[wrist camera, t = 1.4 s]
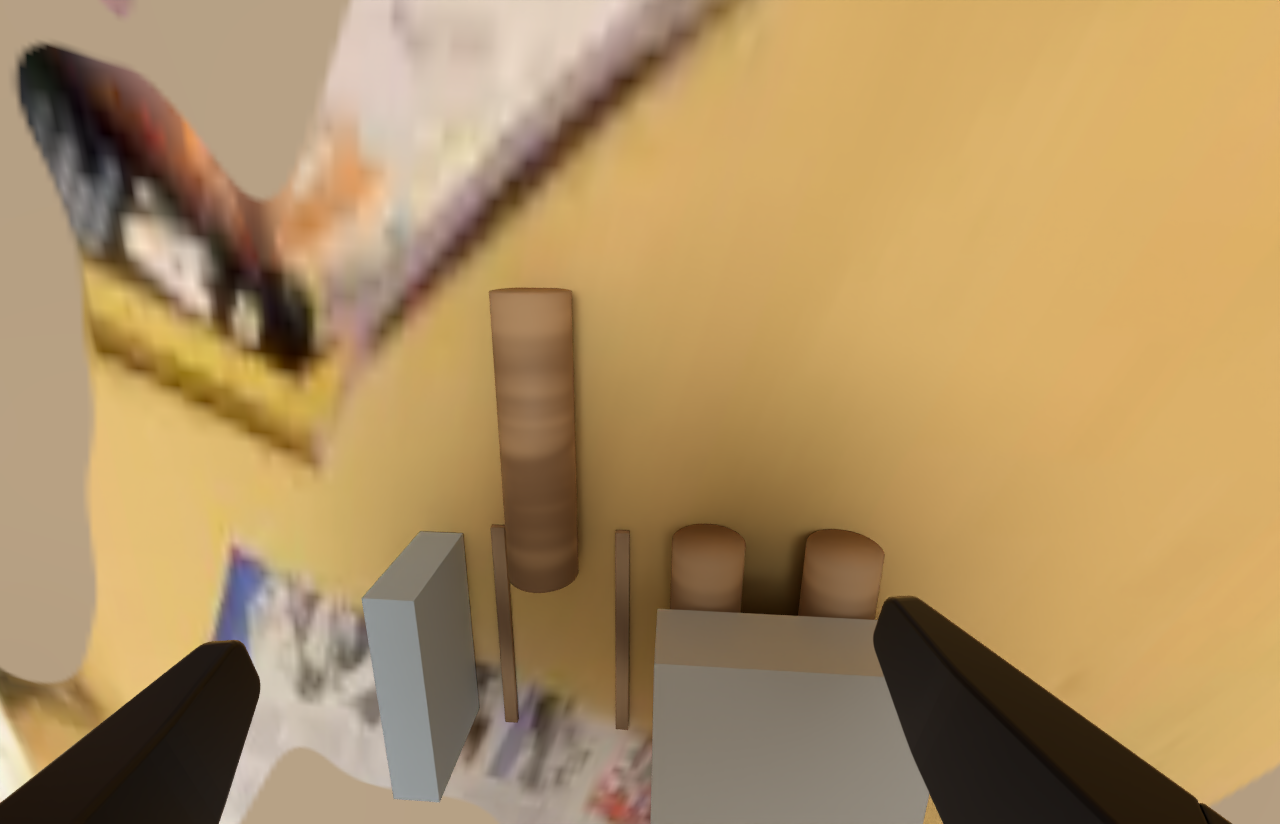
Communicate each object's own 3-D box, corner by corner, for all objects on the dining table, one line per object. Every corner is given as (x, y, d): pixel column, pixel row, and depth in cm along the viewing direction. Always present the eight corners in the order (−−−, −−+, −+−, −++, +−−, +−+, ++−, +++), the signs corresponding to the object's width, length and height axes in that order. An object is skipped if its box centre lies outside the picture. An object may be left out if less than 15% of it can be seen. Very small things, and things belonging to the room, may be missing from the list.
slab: (888, 780, 24) (916, 853, 21) (653, 763, 25) (650, 833, 22) (918, 622, 22) (954, 681, 19) (657, 608, 22) (654, 663, 20)
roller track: (838, 747, 28) (856, 805, 25) (507, 725, 29) (488, 779, 26) (870, 530, 24) (896, 570, 22) (491, 514, 25) (467, 550, 23)
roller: (584, 555, 26) (570, 595, 23) (519, 551, 26) (499, 590, 23) (578, 288, 22) (561, 296, 20) (504, 286, 23) (476, 294, 20)
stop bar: (479, 708, 29) (439, 802, 24) (440, 705, 29) (393, 798, 24) (463, 533, 26) (414, 601, 21) (419, 531, 26) (361, 598, 21)
